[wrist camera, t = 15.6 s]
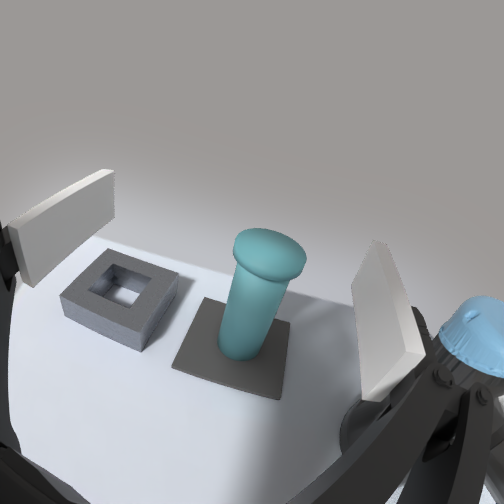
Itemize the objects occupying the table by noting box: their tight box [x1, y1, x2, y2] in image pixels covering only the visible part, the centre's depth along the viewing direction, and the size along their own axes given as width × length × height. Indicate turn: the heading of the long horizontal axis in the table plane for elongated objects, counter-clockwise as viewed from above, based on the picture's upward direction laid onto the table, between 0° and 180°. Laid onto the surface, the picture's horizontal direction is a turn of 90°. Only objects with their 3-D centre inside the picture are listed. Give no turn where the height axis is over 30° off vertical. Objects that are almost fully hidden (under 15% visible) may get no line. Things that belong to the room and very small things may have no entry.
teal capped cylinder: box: [217, 228, 307, 361], centre depth 34 cm, size 8×8×16 cm
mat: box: [172, 297, 290, 400], centre depth 38 cm, size 14×14×1 cm
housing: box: [59, 248, 179, 352], centre depth 38 cm, size 13×13×4 cm
